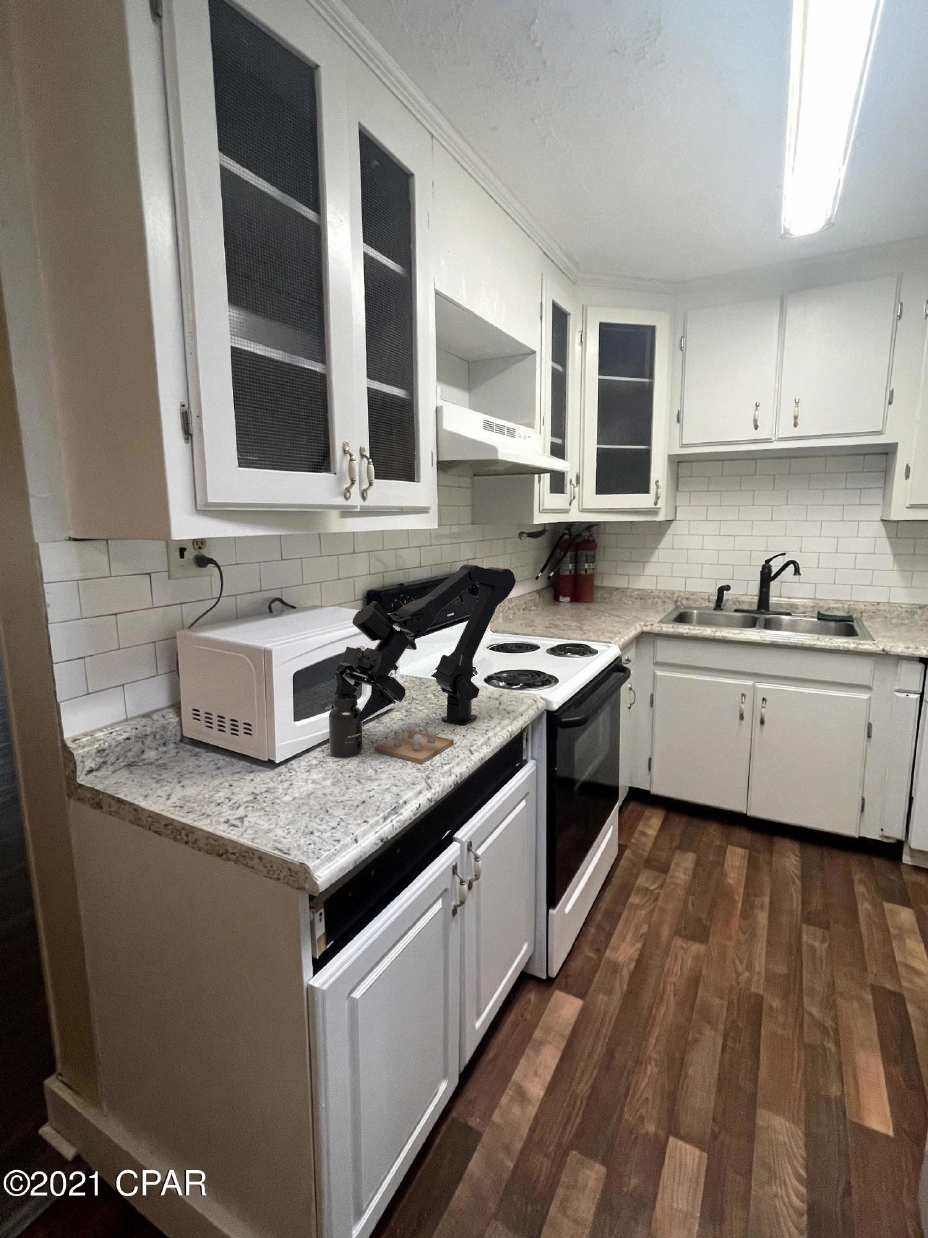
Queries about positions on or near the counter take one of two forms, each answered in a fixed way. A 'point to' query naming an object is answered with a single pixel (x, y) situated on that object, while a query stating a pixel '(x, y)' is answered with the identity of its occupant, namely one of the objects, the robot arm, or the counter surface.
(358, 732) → the supplement bottle
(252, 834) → the counter surface
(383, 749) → the peg stand
